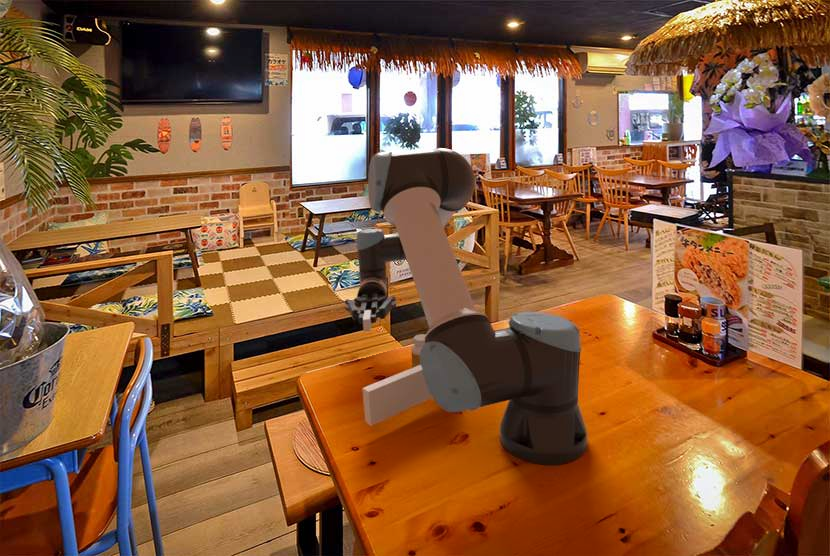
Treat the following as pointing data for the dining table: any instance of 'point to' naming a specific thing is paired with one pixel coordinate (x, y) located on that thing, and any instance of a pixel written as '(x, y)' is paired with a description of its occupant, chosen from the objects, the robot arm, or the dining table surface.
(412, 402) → the swing arm
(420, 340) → the supplement bottle
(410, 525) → the dining table surface
